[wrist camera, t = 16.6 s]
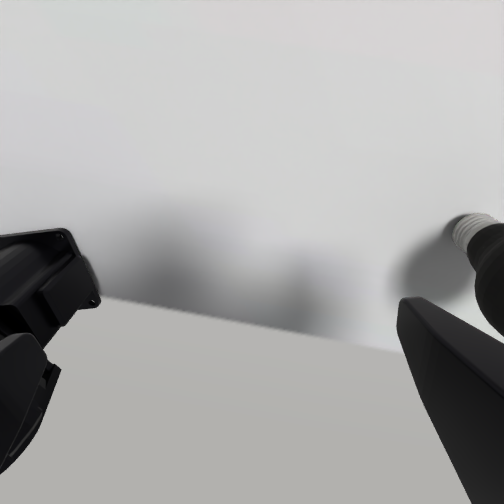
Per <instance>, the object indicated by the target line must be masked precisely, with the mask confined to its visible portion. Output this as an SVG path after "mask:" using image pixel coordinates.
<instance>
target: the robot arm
mask: <svg viewBox="0 0 504 504" xmlns="http://www.w3.org/2000/svg"><path fill="white" fill-rule="evenodd" d="M59 234H61V235H62V236H63V238H62V237H60V235H59ZM92 300H93V301H94V302H93V301H92ZM100 303H101V299H100V296H99V294H98V292H97V290H96V288H95V285H94V283H93V281H92V279H91V276H90V274H89V272H88V270H87V268H86V266H85V264H84V262H83V259H82V258H81V256H80V254H79V252H78V250H77V248H76V245H75V243H74V241H73V239H72V237H71V235H70V233H69V232H68V231H67V230H66V229H64V228H55V229H47V230H39V231H31V232H22V233H14V234H6V235H0V474H1V473H3V472H4V471H5V470H6V469H7V468H8V467H9V466H10V465H11V464H12V463H13V462H14V461H15V460H16V459H17V458H18V457H19V456H20V455H21V454H22V453H23V451H24V450H25V449H26V447H27V446H28V445H29V444H30V442H31V441H32V439H33V438H34V436H35V434H36V433H37V431H38V429H39V427H40V425H41V422H42V420H43V417H44V414H45V412H46V409H47V406H48V404H49V401H50V399H51V396H52V393H53V391H54V388H55V385H56V383H57V380H58V378H59V375H60V372H61V369H60V368H59V367H58V366H57V365H55V364H52V363H51V362H49V361H48V360H47V356H46V353H45V352H44V351H43V349H44V347H45V346H46V345H47V343H49V341H50V340H51V339H52V337H53V336H54V335H55V334H56V332H57V331H58V330H59V328H60V327H62V326H65V325H66V324H67V323H68V321H69V320H70V319H71V318H72V316H73V315H74V314H75V312H76V311H77V310H81V309H90V308H96V307H98V306H99V304H100ZM396 327H397V334H398V337H399V340H400V343H401V345H402V348H403V351H404V354H405V356H406V359H407V362H408V365H409V368H410V370H411V373H412V376H413V379H414V382H415V384H416V387H417V389H418V392H419V395H420V398H421V400H422V402H423V404H424V406H425V409H426V410H427V413H428V415H429V417H430V419H431V421H432V423H433V425H434V427H435V429H436V431H437V433H438V435H439V438H440V440H441V442H442V444H443V446H444V448H445V449H446V452H447V454H448V456H449V458H450V460H451V462H452V464H453V466H454V468H455V470H456V472H457V474H458V477H459V479H460V481H461V483H462V485H463V487H464V489H465V491H466V493H467V495H468V497H469V499H470V501H471V503H472V504H504V343H502V342H500V341H498V340H496V339H495V338H493V337H491V336H489V335H488V334H486V333H484V332H482V331H481V330H479V329H477V328H475V327H473V326H472V325H470V324H468V323H466V322H465V321H463V320H461V319H459V318H458V317H456V316H454V315H452V314H451V313H449V312H447V311H445V310H443V309H442V308H440V307H438V306H436V305H435V304H433V303H431V302H429V301H428V300H426V299H424V298H422V297H406V298H402V299H401V300H400V302H399V308H398V316H397V325H396Z"/></svg>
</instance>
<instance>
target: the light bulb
mask: <svg viewBox="0 0 504 504" xmlns="http://www.w3.org/2000/svg"><path fill="white" fill-rule="evenodd" d="M452 239H453V242H454V243H455V244H456V245H457V246H458V247H459V248H460V249H461V250H463V251H464V252H465V253H466V254H467V257H468V258H469V261H470V263H471V265H472V266H473V268H474V269H475V271H476V279H475V296H476V300H477V303H478V305H479V308H480V310H481V312H482V313H483V315H484V317H485V318H486V320H487V321H488V322H489V324H490V325H492V326H493V327H494V328H495V329H496V330H497V331H498V332H499V333H500V334H501V335H502V336H504V223H501V222H500V221H498V220H497V219H495V218H493V217H491V216H490V215H488V214H485V213H474V214H470V215H468V216H466V217H464V218H463V219H461V220H460V221H459V222H458V223H457V224H456V226H455V227H454V229H453V232H452Z"/></svg>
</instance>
